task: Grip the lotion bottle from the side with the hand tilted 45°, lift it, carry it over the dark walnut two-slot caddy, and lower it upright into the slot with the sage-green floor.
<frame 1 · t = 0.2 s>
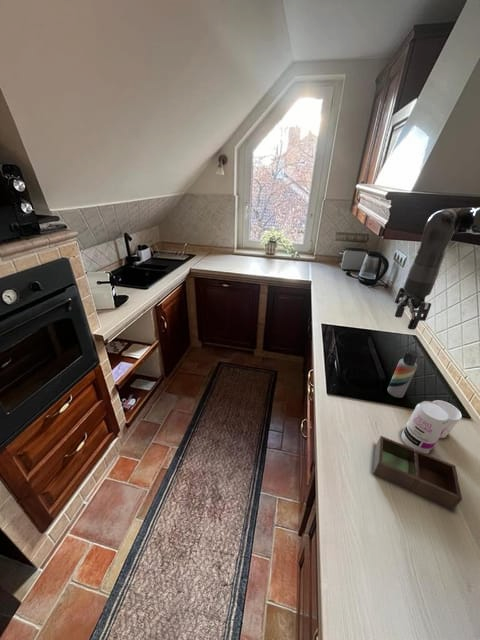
hand: (404, 322, 88), 30 cm above the worktop, tool pointing down, fingers open, 8 cm apart
white cup: (433, 430, 85), on the worktop
caddy: (409, 476, 72), on the worktop
supplement can: (415, 443, 81), on the worktop
lotion bottle: (394, 393, 99), on the worktop
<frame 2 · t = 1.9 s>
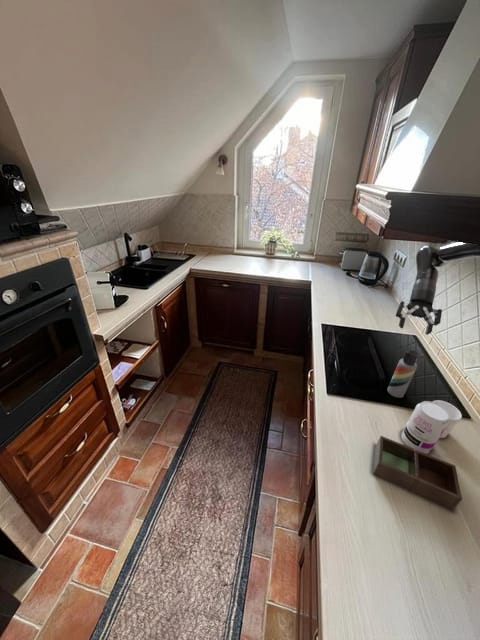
hand: (414, 330, 97), 23 cm above the worktop, tool tilted 45°, fingers open, 8 cm apart
nothing on the worktop moved.
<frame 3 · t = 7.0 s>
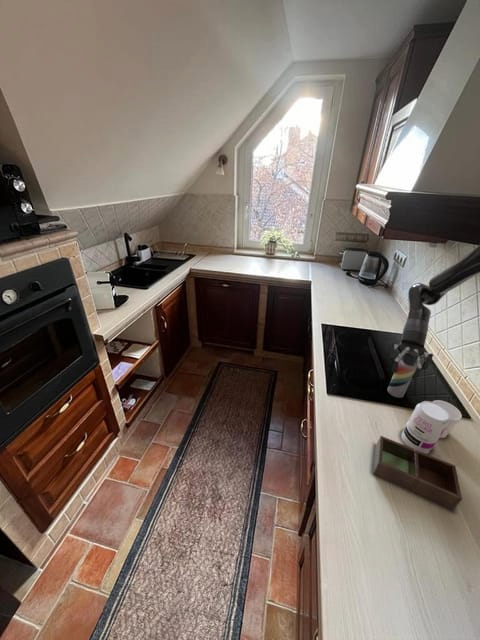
hand: (404, 375, 93), 11 cm above the worktop, tool tilted 45°, fingers closed on lotion bottle, 5 cm apart
lotion bottle: (394, 393, 99), on the worktop, touching gripper
everything else where it was.
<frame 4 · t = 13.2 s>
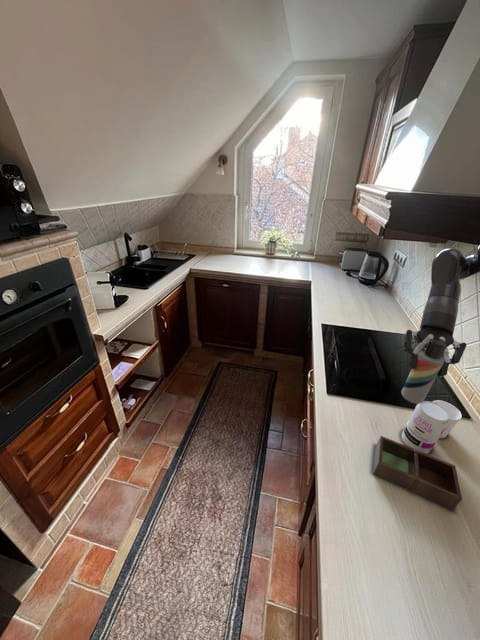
hand: (426, 372, 68), 28 cm above the worktop, tool tilted 45°, fingers closed on lotion bottle, 5 cm apart
lotion bottle: (411, 397, 75), point 17 cm above the worktop, touching gripper
everything else where it was.
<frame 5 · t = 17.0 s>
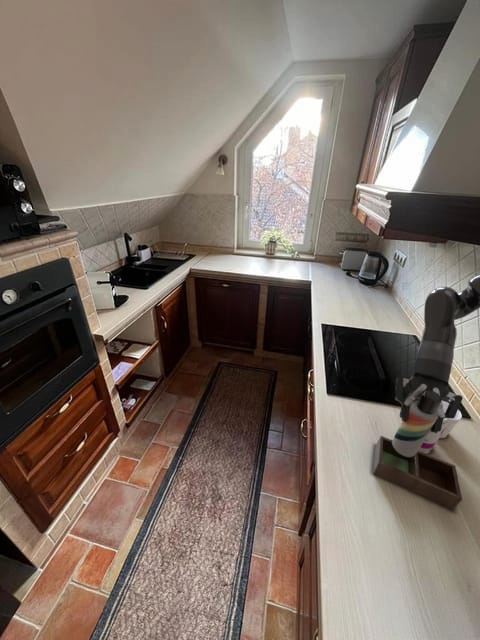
hand: (418, 426, 62), 20 cm above the worktop, tool tilted 45°, fingers closed on lotion bottle, 5 cm apart
lotion bottle: (403, 448, 69), point 9 cm above the worktop, touching gripper
everything else where it was.
when the fingers open (12 cm above the worktop, at t = 19.9 s): lotion bottle stays where it is, resting on caddy.
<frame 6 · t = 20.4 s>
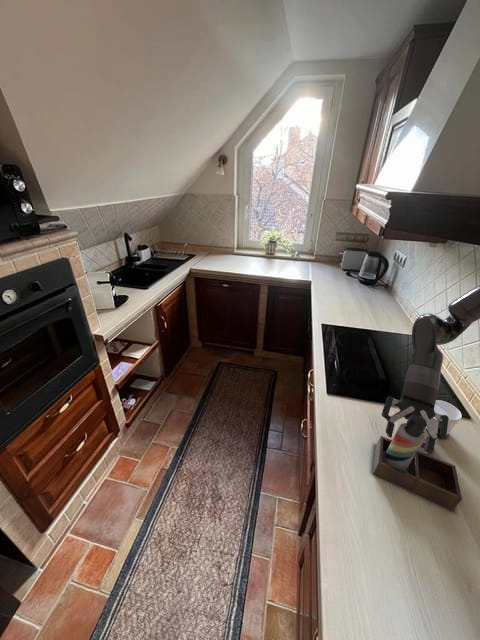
hand: (407, 444, 66), 13 cm above the worktop, tool tilted 45°, fingers open, 8 cm apart
lotion bottle: (392, 466, 73), point 1 cm above the worktop, touching caddy
everything else where it was.
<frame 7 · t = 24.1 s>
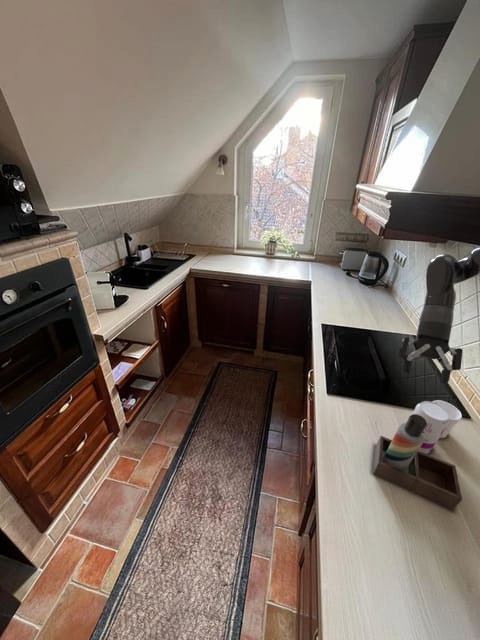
hand: (424, 378, 71), 24 cm above the worktop, tool tilted 40°, fingers open, 8 cm apart
nothing on the worktop moved.
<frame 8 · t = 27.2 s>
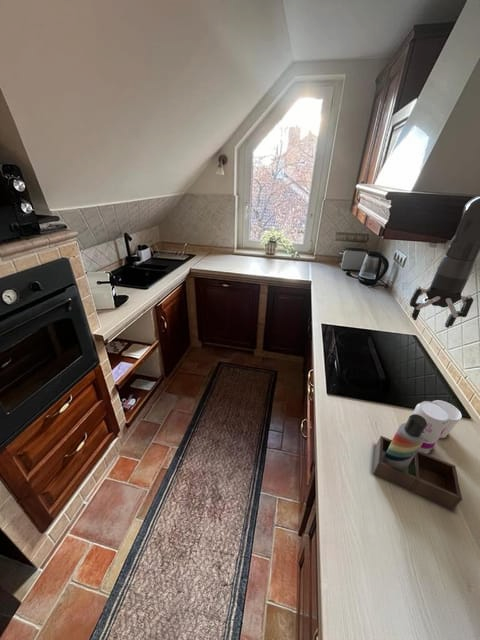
hand: (430, 322, 79), 34 cm above the worktop, tool pointing down, fingers open, 8 cm apart
nothing on the worktop moved.
at the end: lotion bottle 0.2 cm from the target spot in the caddy, point 0.8 cm above the caddy's base; lotion bottle tilted 0°; the gripper is holding nothing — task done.
